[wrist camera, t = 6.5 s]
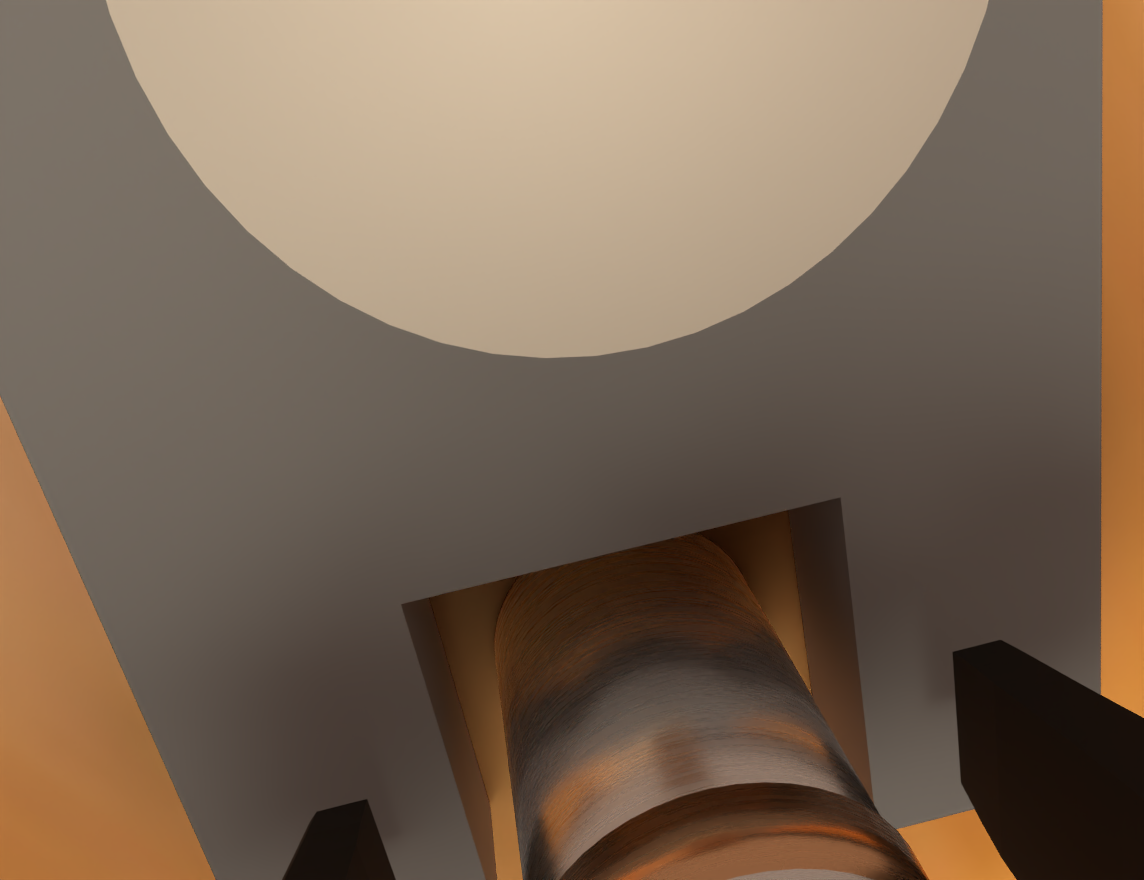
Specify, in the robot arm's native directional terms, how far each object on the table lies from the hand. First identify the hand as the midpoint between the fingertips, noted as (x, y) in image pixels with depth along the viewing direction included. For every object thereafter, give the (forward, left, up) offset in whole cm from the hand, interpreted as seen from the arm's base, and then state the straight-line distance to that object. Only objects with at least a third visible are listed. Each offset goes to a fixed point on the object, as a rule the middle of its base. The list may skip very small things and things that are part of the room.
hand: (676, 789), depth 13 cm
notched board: (+4, +3, -4) cm, 6 cm away
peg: (0, 0, -4) cm, 4 cm away
